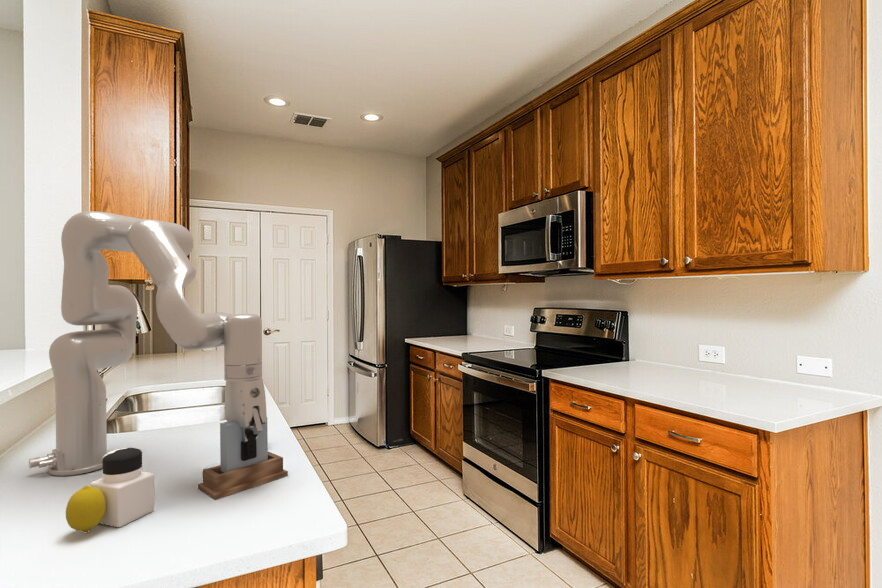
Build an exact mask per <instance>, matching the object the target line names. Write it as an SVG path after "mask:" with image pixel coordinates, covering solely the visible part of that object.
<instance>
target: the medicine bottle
mask: <svg viewBox="0 0 882 588" xmlns="http://www.w3.org/2000/svg"><path fill="white" fill-rule="evenodd" d="M102 459H103V468H102V477H101V478H99V479H96V480H94V481H91V482H90V484H89V486H90V487H95V488H98V489H99V490H101V491H102V492H103V494H104V497H105V500H106V511H105V515H104V517H103V519H102V520H101V522H100V523H102V524H101V525H104V524H107V525H106V526H108V525H111V526H110V527H113V526H114V528H118V527H119V528H122V527H123V525H124V526H126V525H128V524H129V523H132V522H133V521H136V520H137V519H139V518H141V517H144V516H146V515H148V514H149V513H153V512H154V510H155V475H154V473H153V472H146V471H143V451H142V450H141V449H140V448H136V447H123V448H118V449H114V450H112V451H109V452H107V454H106V455H104V457H103V458H102ZM125 524H126V525H125ZM121 526H122V527H121Z"/></svg>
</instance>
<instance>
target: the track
mask: <svg viewBox="0 0 882 588" xmlns="http://www.w3.org/2000/svg"><path fill="white" fill-rule="evenodd" d="M288 472H289V471H288V470H286V469H284V457H283V456H281V455H278V454H275V453H272V452H270V451H268V460H266V461H263V462H259V463H256V464H252V465H249V466H246V467H242V468H239V469H235V470H232V471H229V472H225V473H224V472H222V471H221V464H220V465H215V466H211V467H209V468H208V467H207V468H205V469H202V473H201V474H202V482H200V483H197V490H198V491H200V492H202V493H204V494H206V496H208V497H210V498H212V500H213V499H214V500H215V501H216V500H220V499H222V498H225V497H228V496H231V495H234V494H237V493H240V492H244V491H247V490H248V489H251V488H255V487H258V486H260V485H264V484H267V483H270V482H274V481H276V480H279V479H282V478H285V477H287V476H289V475H288V474H289V473H288Z"/></svg>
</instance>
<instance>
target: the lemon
mask: <svg viewBox="0 0 882 588" xmlns="http://www.w3.org/2000/svg"><path fill="white" fill-rule="evenodd" d="M105 511H106V500H105V497H104V494H103V492H102V491H101V490H99V489H98V488H95V487H90V485H84V486H83V487H82V488H80V489H78V490H77V491H75V492H74V493H73V494H72V495H71V496H70V498H69V499H68V501H67V504H66V508H65V519H66V520H65V521H66V522H67V524H68V526H69V528H71V529H73V530H75V531H79V532H82V533H84V532H87V533H89V532H90V531H91V530H92V529H94V528H96V526H98V525H99V523H100V522H101V520H102V519H103V517H104V515H105ZM88 531H89V532H88Z"/></svg>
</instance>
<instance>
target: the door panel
mask: <svg viewBox="0 0 882 588" xmlns="http://www.w3.org/2000/svg"><path fill="white" fill-rule="evenodd" d="M249 425H253V424H252V423H249ZM261 425H262V429H263V430H262V432H260V433H259V434H258V439H256V444H257V456H256V458H253V459H249V460H246V461H242V460H241V442H243V436H242V427H240V426H238V423H236V422H233V421H228V422H227V421H224V422H221V423H219V437H220V438H219V439H220V440H219V441H220V443H219V444H220V447H219V451H220V453H219V454H220V460H219V461H220V465H221V471H222V472H224V473H225V472H229V471H232V470H235V469H239V468H242V467H246V466H249V465H252V464H256V463H259V462H263V461H266V460H268V452H269V451H268V450H269V448H268V447H269V445H268V440H269V438H268V420H267V421H266V423H265V424H261ZM249 430H252V429H248V430H247V433H248V432H249Z"/></svg>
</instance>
